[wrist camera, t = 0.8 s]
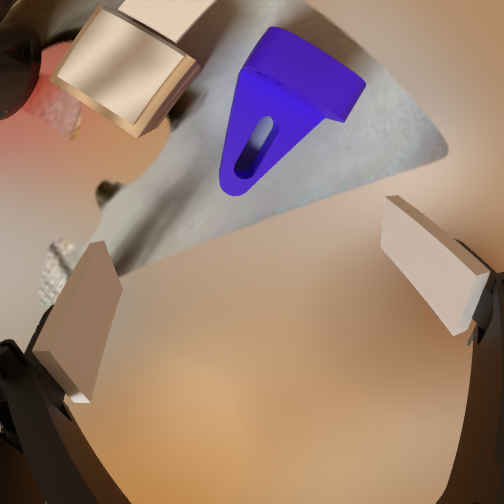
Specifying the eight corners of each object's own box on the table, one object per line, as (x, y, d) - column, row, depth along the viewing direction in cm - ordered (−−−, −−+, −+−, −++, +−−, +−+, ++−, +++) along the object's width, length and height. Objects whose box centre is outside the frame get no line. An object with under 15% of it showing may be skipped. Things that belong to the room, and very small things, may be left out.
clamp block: (87, 81, 30) (44, 81, 20) (128, 23, 27) (97, 2, 17) (157, 127, 34) (134, 139, 25) (202, 69, 31) (195, 59, 22)
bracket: (256, 43, 30) (272, 22, 20) (330, 86, 34) (373, 86, 23) (189, 166, 37) (177, 195, 27) (263, 201, 41) (279, 241, 30)
